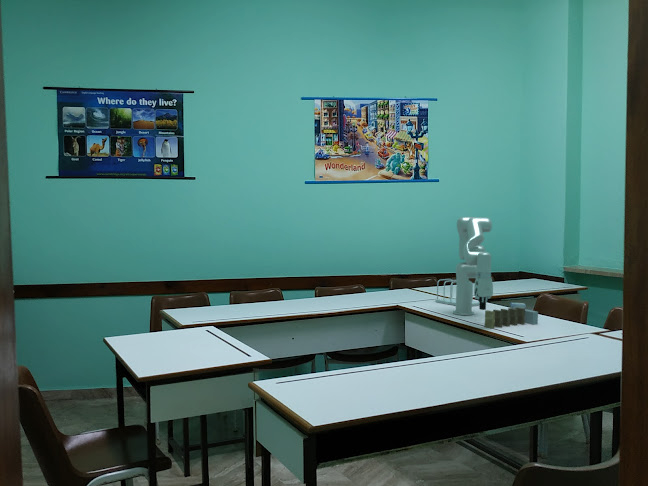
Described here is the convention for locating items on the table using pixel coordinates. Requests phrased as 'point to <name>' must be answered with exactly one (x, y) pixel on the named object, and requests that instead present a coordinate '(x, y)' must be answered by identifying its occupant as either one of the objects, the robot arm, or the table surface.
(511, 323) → the domino
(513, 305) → the medicine box
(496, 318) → the domino
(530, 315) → the bookend block
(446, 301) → the file sorter
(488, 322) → the domino
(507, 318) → the domino
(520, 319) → the domino
